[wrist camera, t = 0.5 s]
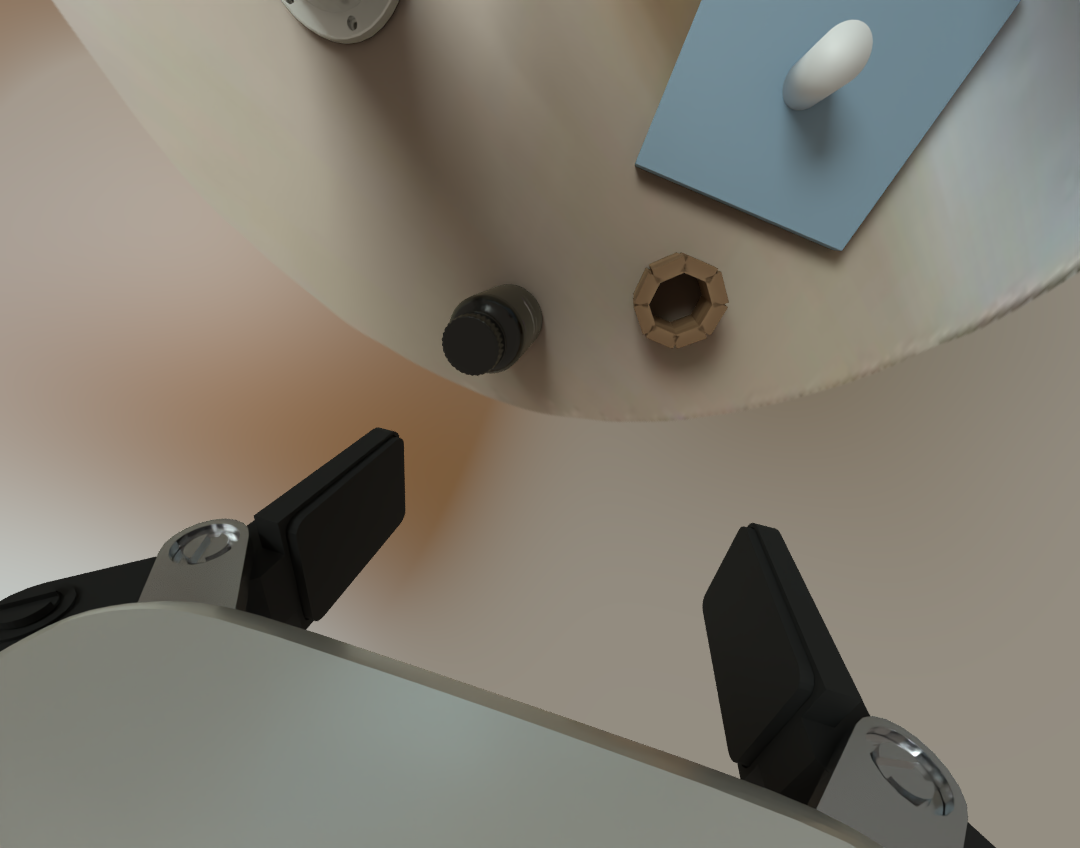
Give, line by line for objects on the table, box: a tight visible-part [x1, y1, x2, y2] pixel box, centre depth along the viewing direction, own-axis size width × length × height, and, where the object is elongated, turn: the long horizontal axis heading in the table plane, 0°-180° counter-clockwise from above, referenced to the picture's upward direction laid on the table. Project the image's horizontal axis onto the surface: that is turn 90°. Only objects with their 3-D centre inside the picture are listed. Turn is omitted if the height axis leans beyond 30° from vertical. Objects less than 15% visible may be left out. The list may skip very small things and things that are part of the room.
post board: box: [635, 0, 1021, 251], centre depth 25 cm, size 18×16×6 cm
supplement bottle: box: [442, 284, 542, 376], centre depth 35 cm, size 7×7×12 cm
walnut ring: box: [633, 252, 729, 349], centre depth 34 cm, size 7×7×5 cm
